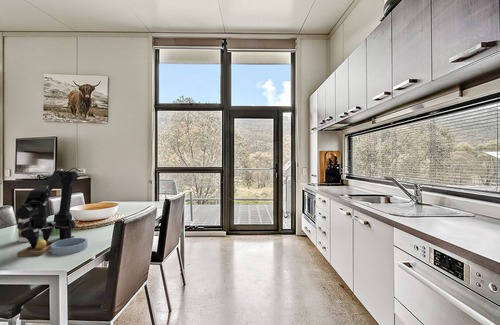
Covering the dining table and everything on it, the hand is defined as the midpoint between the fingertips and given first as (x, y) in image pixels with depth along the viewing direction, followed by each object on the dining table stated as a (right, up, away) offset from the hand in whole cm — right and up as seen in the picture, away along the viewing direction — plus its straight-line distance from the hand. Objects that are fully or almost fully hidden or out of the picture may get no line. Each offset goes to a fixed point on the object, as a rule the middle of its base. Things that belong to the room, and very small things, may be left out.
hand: (39, 245), depth 135 cm
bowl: (+14, -3, +2) cm, 14 cm away
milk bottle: (-21, -3, +17) cm, 27 cm away
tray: (0, -3, 0) cm, 3 cm away
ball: (0, -2, 0) cm, 2 cm away
